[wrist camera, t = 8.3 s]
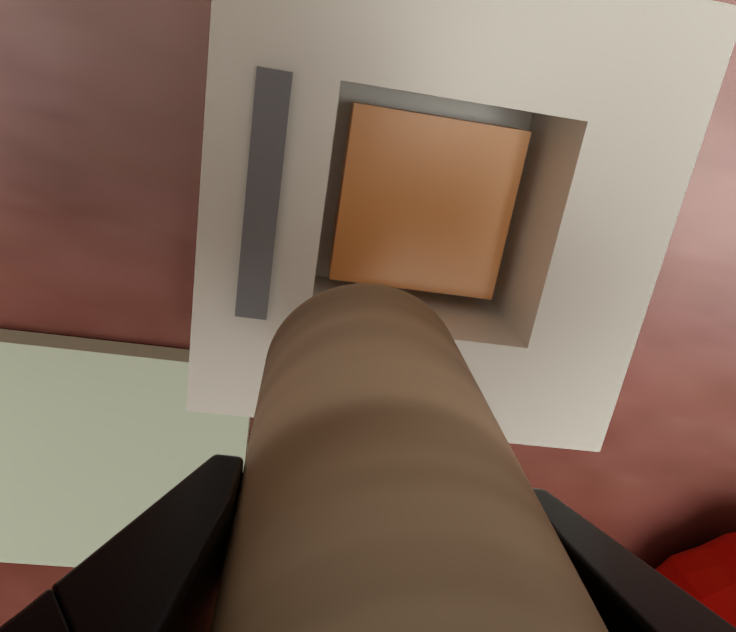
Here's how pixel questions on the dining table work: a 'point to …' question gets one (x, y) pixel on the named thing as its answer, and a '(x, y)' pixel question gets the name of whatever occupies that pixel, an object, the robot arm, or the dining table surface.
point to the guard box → (534, 196)
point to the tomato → (707, 574)
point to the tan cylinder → (386, 488)
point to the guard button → (425, 201)
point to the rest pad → (94, 440)
